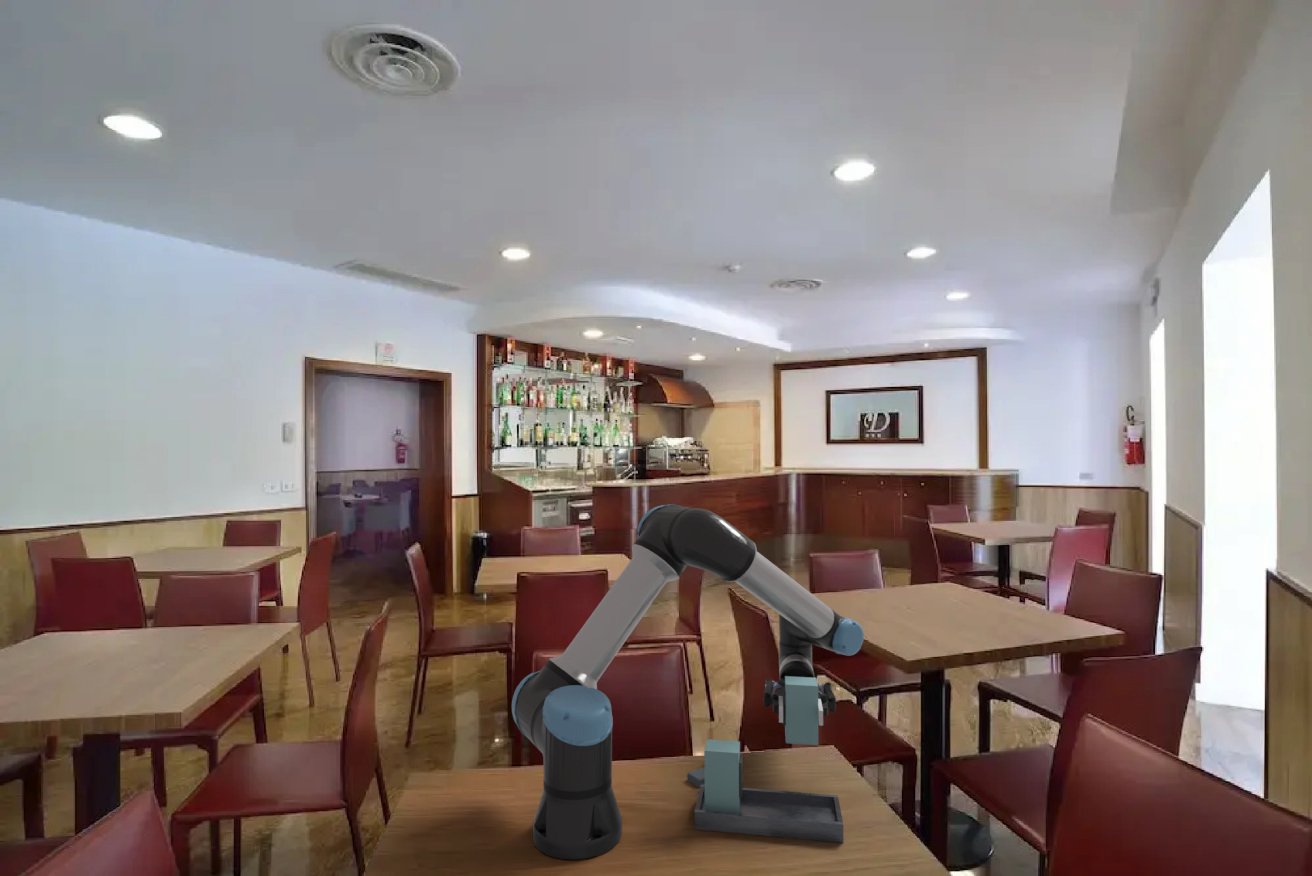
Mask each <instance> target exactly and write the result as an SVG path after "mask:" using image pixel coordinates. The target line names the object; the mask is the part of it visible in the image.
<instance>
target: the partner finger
mask: <svg viewBox="0 0 1312 876" xmlns="http://www.w3.org/2000/svg"><path fill="white" fill-rule="evenodd" d="M703 755H704V761H703V763H704V767H705V810H709V811H720V812H732V813H739V810H740V798H742V791H743V788H744V787H743V785H744V782H743V781H744V780H743V779H744V774H743V772H744V769H743V767H744V766H743V760H744V759H743V753H742V754H741V740H740V741H739V740H738V741H737V740H726V739H725V740H723V739H711V738H710V739H708V738H707V739H706V743H705V747H704V754H703Z"/></svg>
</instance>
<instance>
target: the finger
mask: <svg viewBox="0 0 1312 876" xmlns="http://www.w3.org/2000/svg"><path fill="white" fill-rule="evenodd" d="M818 685H819V682H818V680H817V677H815V678H811V677H792V676H785V688H784V687H782V691H783V723H782V726H784V734H785V735H784V736H785V738H784V739H785V744H792V745H795V744H796V745H806V746H807V745H809V746H819V722H818V692H819V691H818Z"/></svg>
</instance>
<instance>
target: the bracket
mask: <svg viewBox="0 0 1312 876" xmlns="http://www.w3.org/2000/svg"><path fill="white" fill-rule="evenodd" d="M686 778H687V779H686V780H687V782H689V783H690V784H693V786H695V787H697V788H699V789H700V785H701V784H703V785H705V766H703V767H701V768H698V769H695V770H691V771H688V772H687V777H686Z"/></svg>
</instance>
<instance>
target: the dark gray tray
mask: <svg viewBox="0 0 1312 876" xmlns="http://www.w3.org/2000/svg"><path fill="white" fill-rule="evenodd" d="M839 799H840V798H839V795H838V794H825V793H813V792H812V793H811V792H802V791H801V792H800V791H790V790H789V791H788V790H777V789H775V790H774V789H765V788H764V789H763V788H753V787H752V788H751V787H743V791H742V798H740V810H739V813H732V812H720V811H709V810H705V785H703V784H701V785H700V788H699V790H698V795H697V800H696V803H695V804H696V805H695V807H694V830H700V831H710V832H721V833H732V834H741V835H743V834H744V835H751V836H754V835H755V836H764V837H765V836H766V837H773V838H787V839H797V840H798V839H799V840H809V841H819V842H829V843H830V842H832V843H841V844H843V843H844V821H843V820H844V819H843V815H842V810H841V805H840V800H839Z"/></svg>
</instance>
